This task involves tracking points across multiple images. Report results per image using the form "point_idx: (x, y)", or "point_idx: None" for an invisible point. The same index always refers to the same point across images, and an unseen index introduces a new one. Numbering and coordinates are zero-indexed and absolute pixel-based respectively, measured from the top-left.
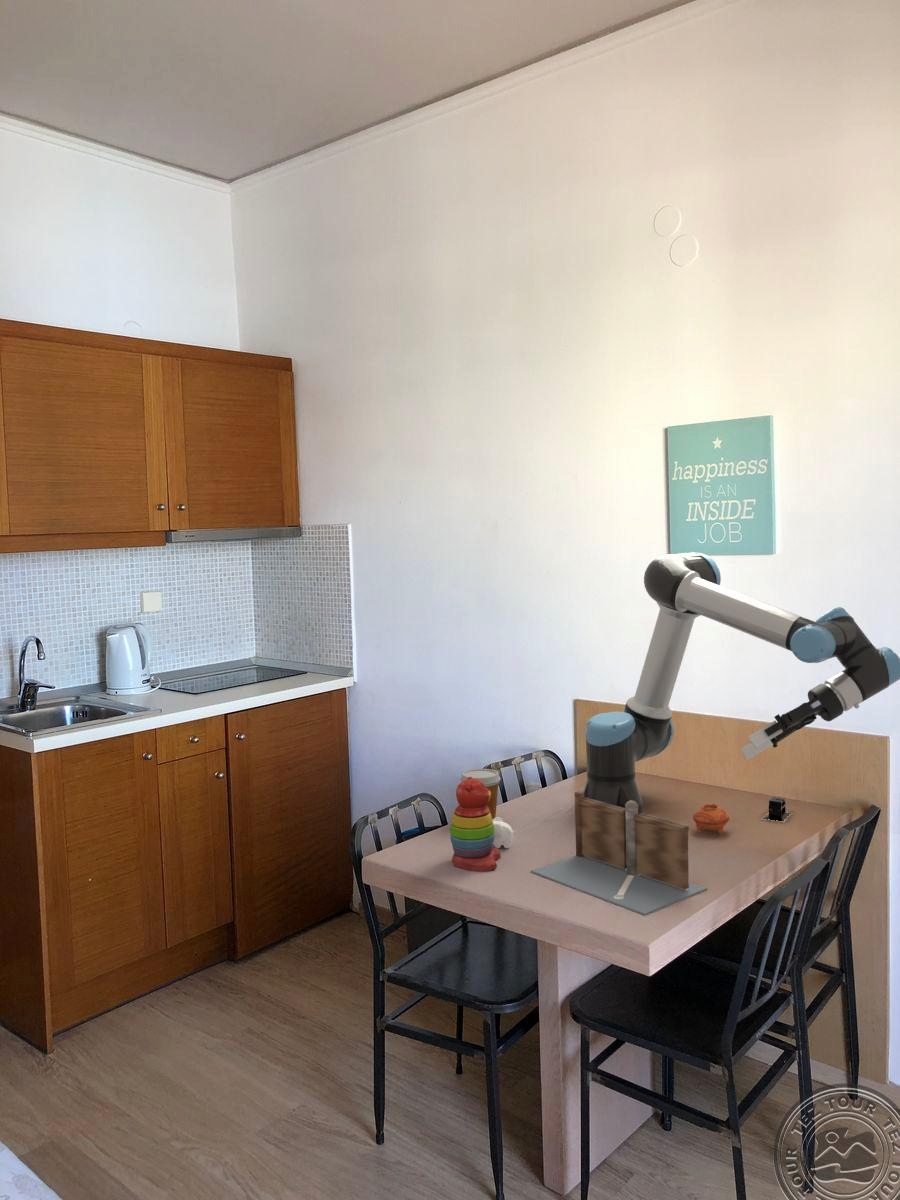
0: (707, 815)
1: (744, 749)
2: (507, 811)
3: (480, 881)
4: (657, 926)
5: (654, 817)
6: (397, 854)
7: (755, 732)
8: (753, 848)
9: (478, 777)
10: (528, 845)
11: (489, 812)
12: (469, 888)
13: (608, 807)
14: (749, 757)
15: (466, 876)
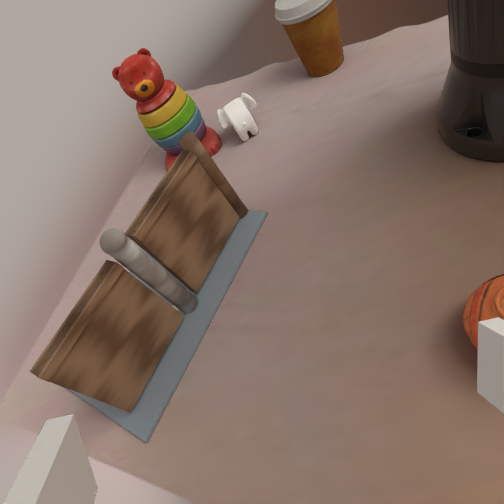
0: (477, 316)
1: (495, 345)
2: (392, 44)
3: (143, 187)
4: (30, 411)
5: (90, 296)
6: (198, 97)
7: (22, 470)
8: (445, 496)
9: (287, 3)
10: (263, 148)
11: (160, 108)
12: (126, 192)
13: (144, 205)
14: (492, 397)
15: (154, 170)
